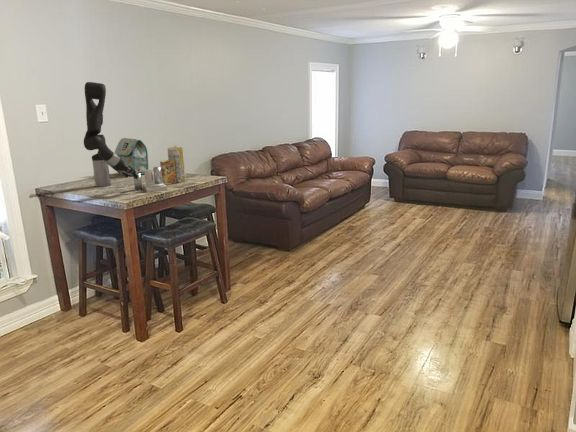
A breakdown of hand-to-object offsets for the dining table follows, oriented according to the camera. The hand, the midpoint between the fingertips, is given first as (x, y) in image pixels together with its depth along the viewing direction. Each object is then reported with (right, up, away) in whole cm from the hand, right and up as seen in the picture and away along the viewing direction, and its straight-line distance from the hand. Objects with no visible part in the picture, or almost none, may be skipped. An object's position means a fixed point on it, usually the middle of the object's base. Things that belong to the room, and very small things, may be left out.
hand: (132, 177), depth 274 cm
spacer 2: (+14, -3, +5) cm, 16 cm away
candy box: (+17, -3, +21) cm, 27 cm away
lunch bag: (-21, +8, +64) cm, 68 cm away
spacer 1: (+2, -7, +5) cm, 9 cm away
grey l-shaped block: (+12, -7, +5) cm, 15 cm away
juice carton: (+21, -1, +28) cm, 35 cm away
